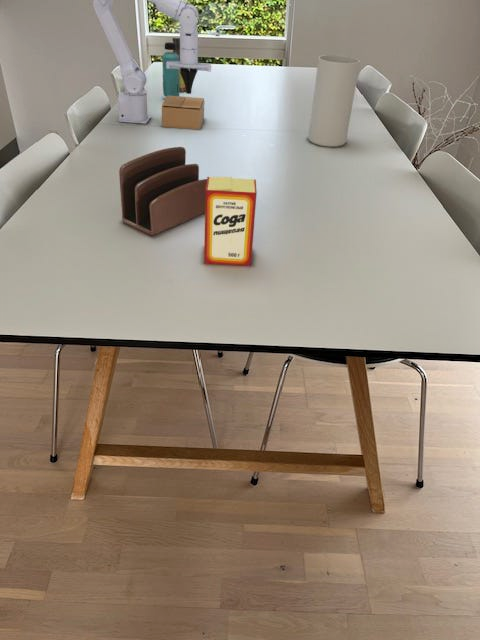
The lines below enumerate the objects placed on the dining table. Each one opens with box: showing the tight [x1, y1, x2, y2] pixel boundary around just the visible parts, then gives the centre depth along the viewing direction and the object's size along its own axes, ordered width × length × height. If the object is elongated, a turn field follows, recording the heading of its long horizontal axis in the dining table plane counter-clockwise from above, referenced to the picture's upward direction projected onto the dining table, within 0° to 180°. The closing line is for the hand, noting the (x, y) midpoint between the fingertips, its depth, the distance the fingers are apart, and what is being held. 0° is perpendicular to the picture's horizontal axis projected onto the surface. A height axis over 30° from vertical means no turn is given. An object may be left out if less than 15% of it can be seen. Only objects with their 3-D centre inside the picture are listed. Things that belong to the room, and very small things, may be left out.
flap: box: [181, 96, 205, 109], centre depth 182 cm, size 6×13×1 cm, turn 177°
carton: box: [161, 95, 205, 130], centre depth 184 cm, size 13×13×7 cm
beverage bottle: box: [161, 41, 181, 98], centre depth 205 cm, size 6×7×20 cm
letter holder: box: [118, 146, 207, 237], centre depth 121 cm, size 10×20×14 cm, turn 141°
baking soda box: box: [203, 176, 258, 267], centre depth 106 cm, size 10×6×16 cm
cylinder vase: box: [308, 54, 361, 148], centre depth 171 cm, size 12×12×25 cm
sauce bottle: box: [172, 35, 186, 93], centre depth 217 cm, size 6×6×20 cm
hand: (188, 93), depth 180 cm, fingers closed
